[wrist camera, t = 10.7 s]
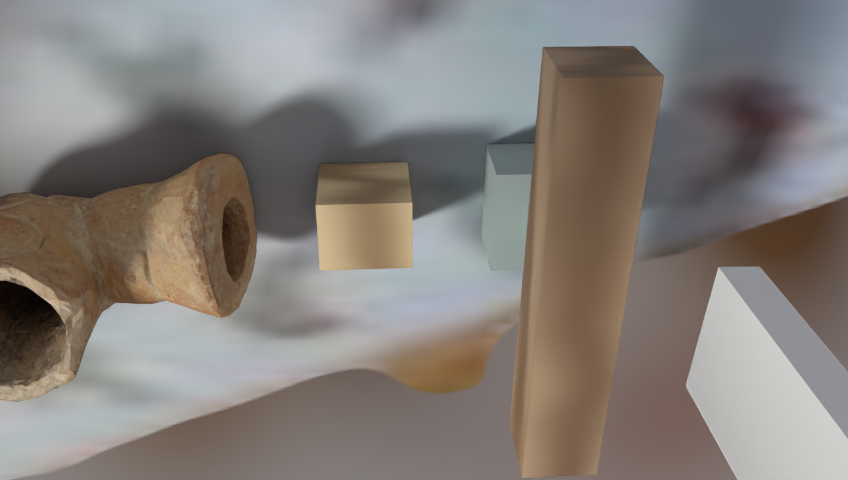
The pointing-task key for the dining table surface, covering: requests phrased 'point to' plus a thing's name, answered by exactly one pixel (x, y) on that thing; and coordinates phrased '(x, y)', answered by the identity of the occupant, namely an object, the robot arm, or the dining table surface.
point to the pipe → (116, 263)
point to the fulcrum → (506, 204)
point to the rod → (579, 249)
